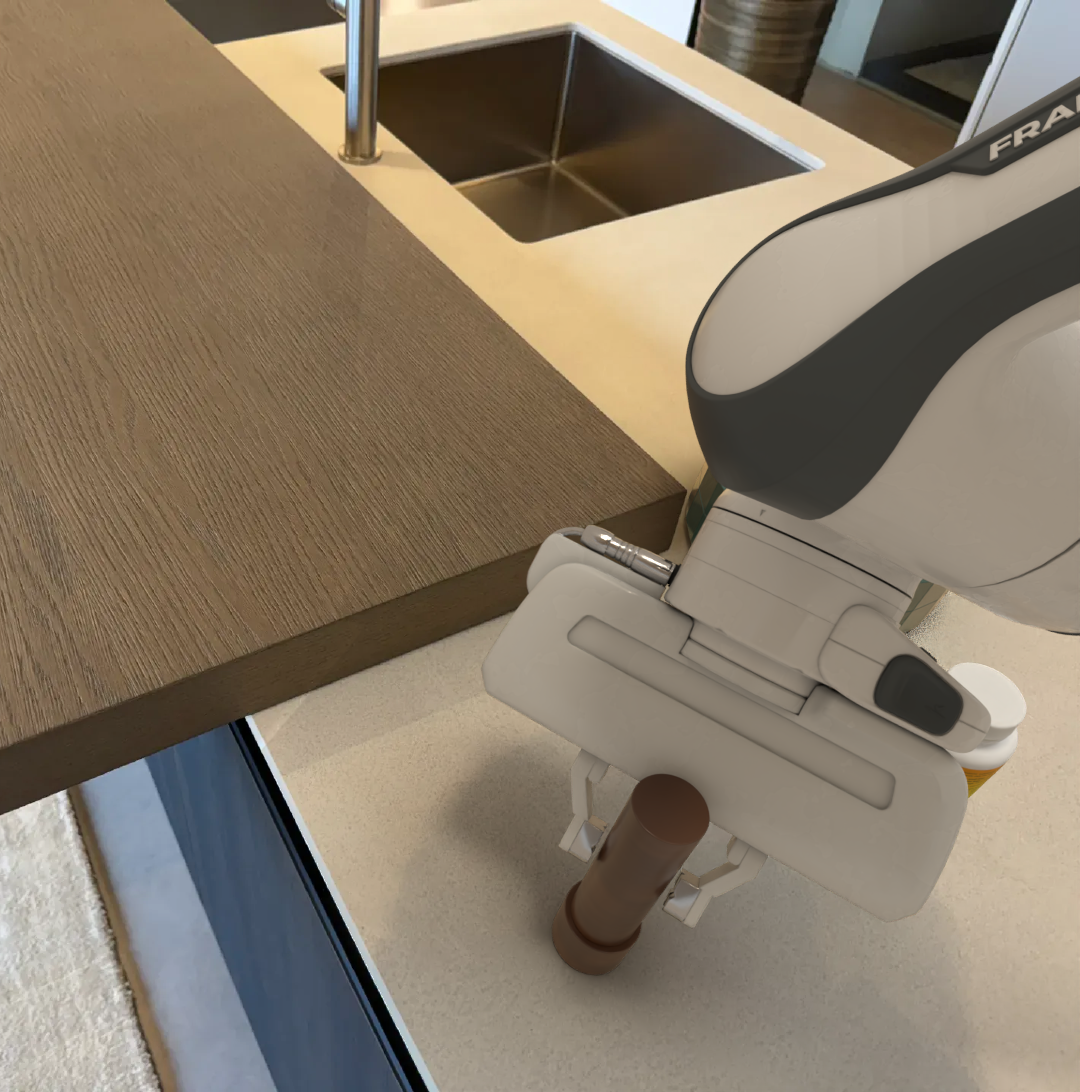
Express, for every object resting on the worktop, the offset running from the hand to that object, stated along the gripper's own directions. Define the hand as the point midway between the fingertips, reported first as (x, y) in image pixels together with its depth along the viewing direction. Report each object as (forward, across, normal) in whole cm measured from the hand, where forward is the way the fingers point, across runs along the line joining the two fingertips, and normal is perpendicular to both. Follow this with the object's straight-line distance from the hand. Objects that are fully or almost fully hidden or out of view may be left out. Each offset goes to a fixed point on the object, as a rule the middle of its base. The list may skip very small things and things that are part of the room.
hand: (624, 883), depth 46 cm
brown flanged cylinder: (+5, 0, +6) cm, 8 cm away
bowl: (-19, +1, +30) cm, 36 cm away
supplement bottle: (-8, +11, +19) cm, 23 cm away
